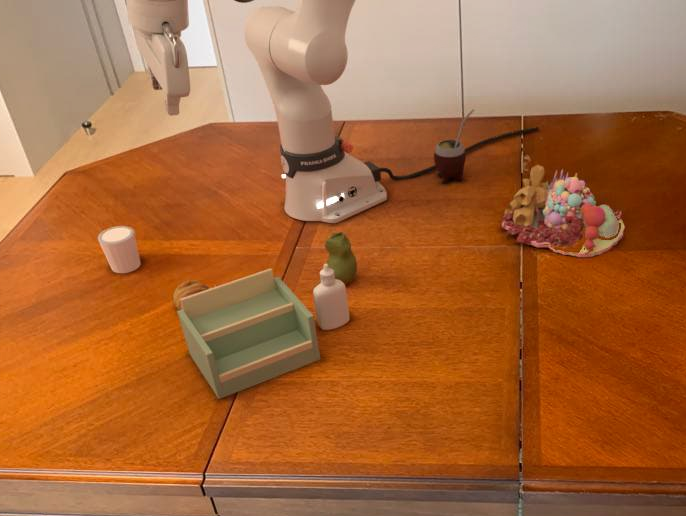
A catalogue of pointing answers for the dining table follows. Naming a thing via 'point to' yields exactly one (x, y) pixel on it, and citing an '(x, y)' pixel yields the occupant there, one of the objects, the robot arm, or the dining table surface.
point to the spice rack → (248, 332)
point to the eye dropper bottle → (330, 301)
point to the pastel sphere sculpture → (560, 215)
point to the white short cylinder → (120, 248)
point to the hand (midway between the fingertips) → (165, 100)
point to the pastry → (187, 291)
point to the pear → (341, 257)
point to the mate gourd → (451, 157)
